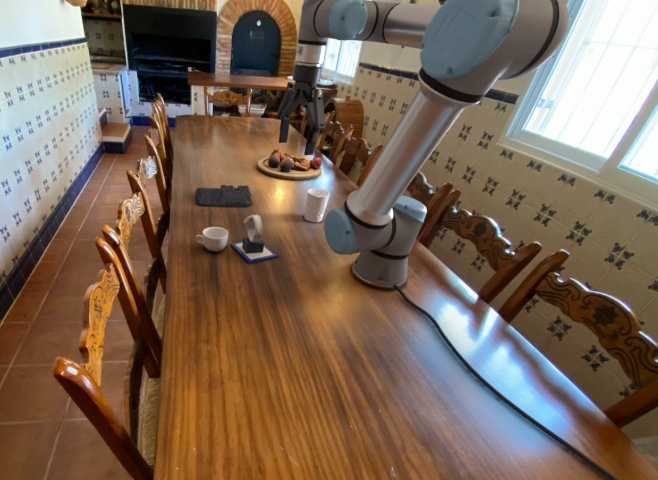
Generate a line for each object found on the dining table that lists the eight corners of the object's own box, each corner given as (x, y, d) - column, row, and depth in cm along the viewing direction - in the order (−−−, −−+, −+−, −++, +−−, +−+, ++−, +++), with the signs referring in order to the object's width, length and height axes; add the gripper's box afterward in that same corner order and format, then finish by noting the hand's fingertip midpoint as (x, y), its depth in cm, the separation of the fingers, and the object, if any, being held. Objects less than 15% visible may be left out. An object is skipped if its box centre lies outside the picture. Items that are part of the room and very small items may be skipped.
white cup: (323, 224, 131) (329, 197, 124) (301, 221, 132) (307, 194, 125) (323, 215, 137) (329, 190, 130) (303, 212, 138) (308, 187, 131)
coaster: (277, 257, 110) (277, 255, 110) (249, 263, 106) (249, 261, 106) (257, 239, 118) (257, 238, 118) (230, 245, 114) (230, 243, 114)
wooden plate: (327, 167, 185) (331, 150, 180) (311, 186, 162) (315, 167, 156) (269, 156, 194) (271, 140, 189) (246, 172, 171) (248, 154, 166)
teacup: (226, 242, 116) (226, 226, 112) (228, 254, 110) (229, 238, 106) (195, 242, 114) (194, 226, 111) (195, 254, 108) (195, 238, 105)
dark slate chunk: (194, 191, 148) (194, 179, 145) (247, 192, 151) (248, 181, 148) (196, 206, 136) (196, 194, 133) (252, 207, 139) (254, 195, 136)
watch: (256, 242, 115) (260, 210, 108) (264, 255, 109) (269, 221, 102) (240, 243, 114) (242, 211, 107) (247, 256, 108) (250, 222, 101)
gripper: (271, 59, 103) (263, 138, 116) (327, 70, 86) (310, 161, 99) (293, 59, 106) (282, 137, 119) (350, 70, 89) (331, 159, 102)
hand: (295, 148), depth 109 cm, fingers open, 13 cm apart
